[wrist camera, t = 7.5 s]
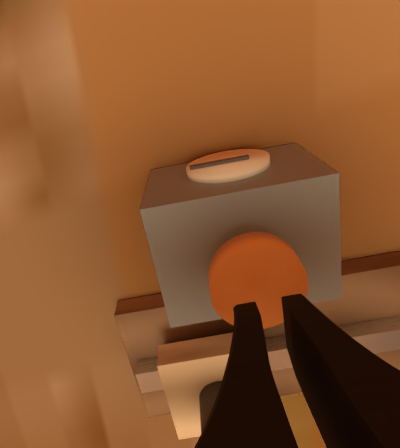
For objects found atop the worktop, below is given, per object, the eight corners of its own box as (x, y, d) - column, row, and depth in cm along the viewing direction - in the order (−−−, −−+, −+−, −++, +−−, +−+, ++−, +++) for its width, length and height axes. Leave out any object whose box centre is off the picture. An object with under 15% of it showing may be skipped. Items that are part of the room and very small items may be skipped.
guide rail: (462, 323, 24) (475, 336, 22) (143, 378, 24) (141, 393, 23) (465, 303, 23) (479, 315, 22) (137, 360, 23) (135, 374, 22)
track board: (448, 349, 26) (463, 365, 25) (150, 399, 27) (148, 417, 26) (463, 239, 23) (481, 251, 21) (118, 300, 23) (114, 315, 22)
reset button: (292, 284, 16) (310, 320, 14) (213, 298, 16) (218, 336, 14) (286, 210, 15) (305, 237, 13) (199, 226, 15) (202, 256, 13)
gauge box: (302, 240, 22) (342, 297, 17) (173, 263, 22) (170, 327, 17) (294, 132, 20) (338, 159, 14) (148, 159, 20) (136, 196, 14)
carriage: (266, 385, 24) (302, 517, 17) (179, 400, 25) (178, 537, 18) (257, 314, 22) (293, 434, 15) (159, 331, 22) (149, 458, 15)
